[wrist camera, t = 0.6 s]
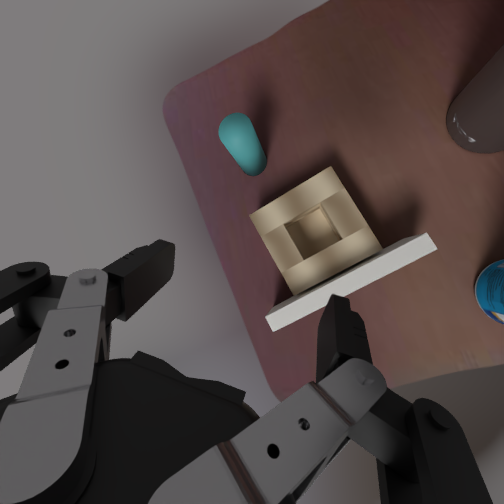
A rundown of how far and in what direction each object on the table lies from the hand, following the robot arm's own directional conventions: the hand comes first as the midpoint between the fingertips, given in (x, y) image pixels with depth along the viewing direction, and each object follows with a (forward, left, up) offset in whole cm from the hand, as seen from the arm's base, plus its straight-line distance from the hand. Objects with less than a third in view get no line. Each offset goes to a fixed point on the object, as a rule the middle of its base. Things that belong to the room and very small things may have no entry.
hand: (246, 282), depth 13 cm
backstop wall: (-5, +5, -25) cm, 26 cm away
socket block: (-5, -3, -26) cm, 26 cm away
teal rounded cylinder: (-3, -17, -25) cm, 30 cm away
